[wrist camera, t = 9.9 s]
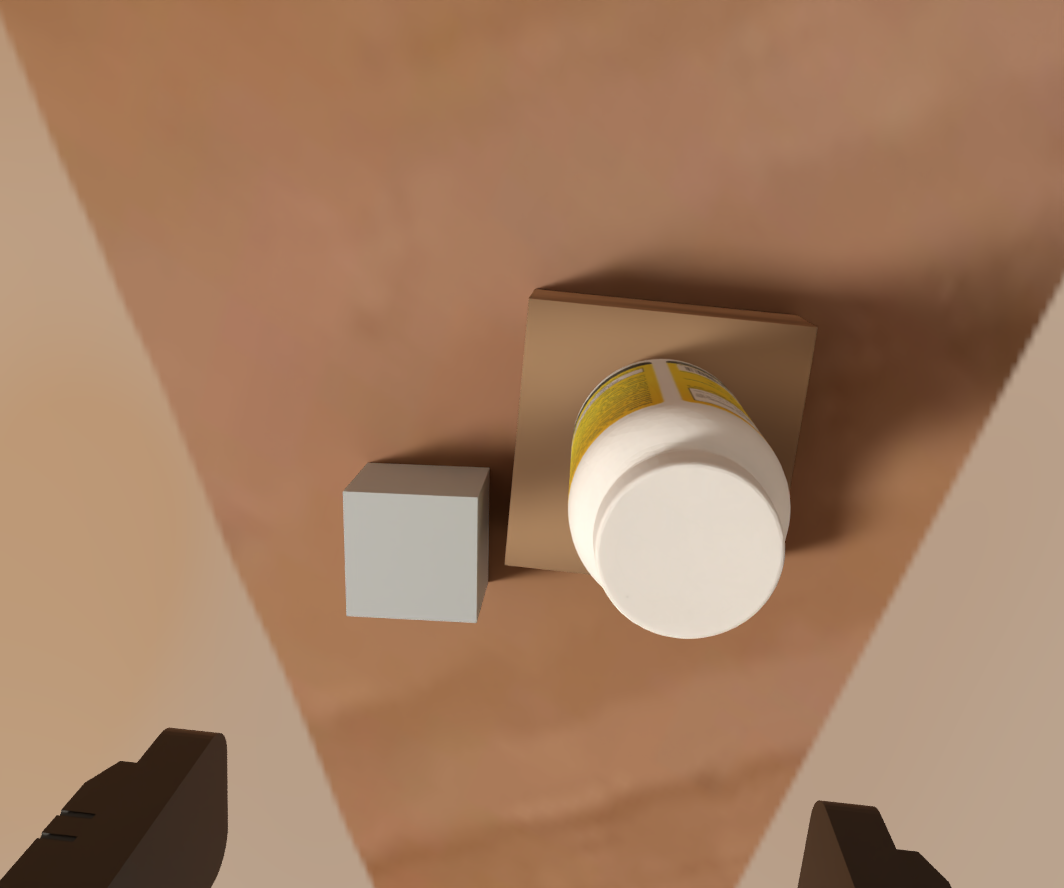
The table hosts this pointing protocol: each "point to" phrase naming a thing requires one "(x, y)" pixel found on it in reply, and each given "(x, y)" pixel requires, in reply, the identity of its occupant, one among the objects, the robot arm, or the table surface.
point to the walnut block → (612, 343)
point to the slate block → (417, 542)
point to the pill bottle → (676, 500)
